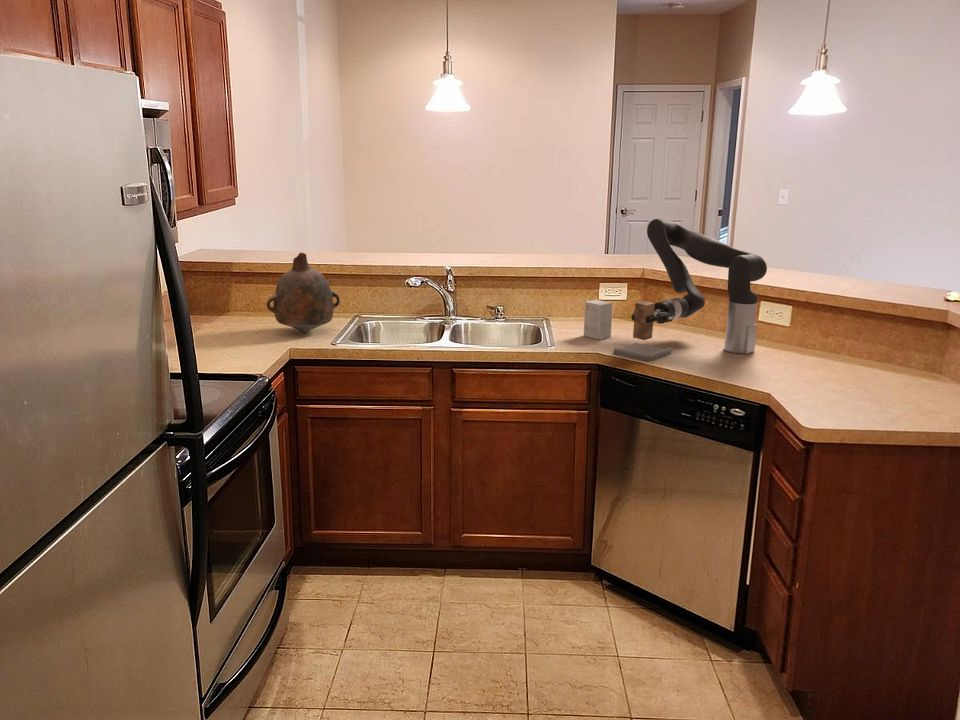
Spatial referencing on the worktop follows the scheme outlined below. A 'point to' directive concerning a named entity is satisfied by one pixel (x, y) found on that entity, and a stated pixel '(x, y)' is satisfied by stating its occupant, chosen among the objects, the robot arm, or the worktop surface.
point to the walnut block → (643, 320)
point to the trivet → (642, 352)
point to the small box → (598, 319)
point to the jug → (303, 297)
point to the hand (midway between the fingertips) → (639, 318)
